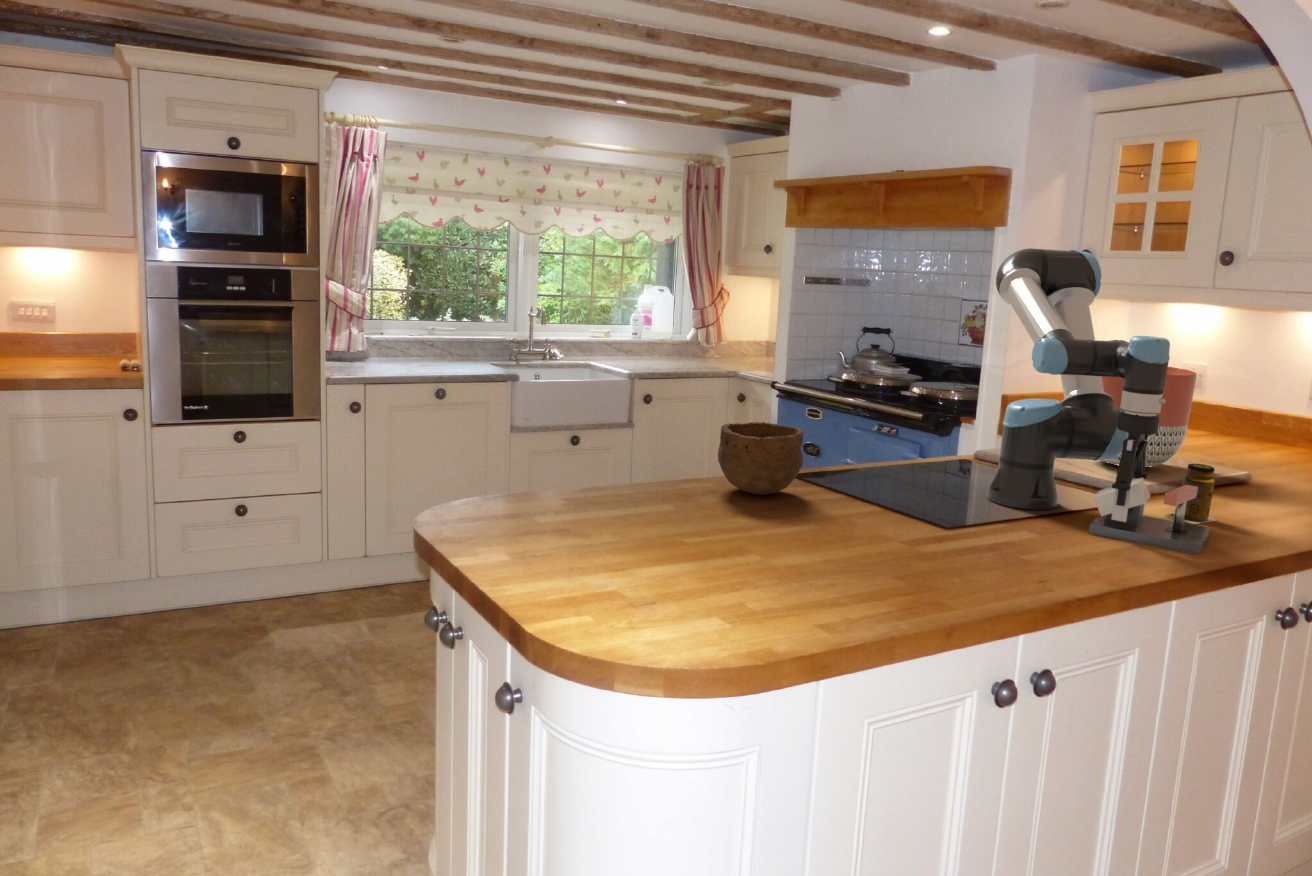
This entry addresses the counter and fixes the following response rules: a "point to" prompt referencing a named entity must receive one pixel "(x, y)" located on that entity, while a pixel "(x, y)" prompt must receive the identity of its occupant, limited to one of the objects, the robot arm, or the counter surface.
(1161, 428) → the planter
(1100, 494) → the cover
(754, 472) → the bowl
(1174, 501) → the t key
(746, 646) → the counter surface
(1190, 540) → the latch plate
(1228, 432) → the counter surface
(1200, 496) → the condiment
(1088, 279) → the robot arm
